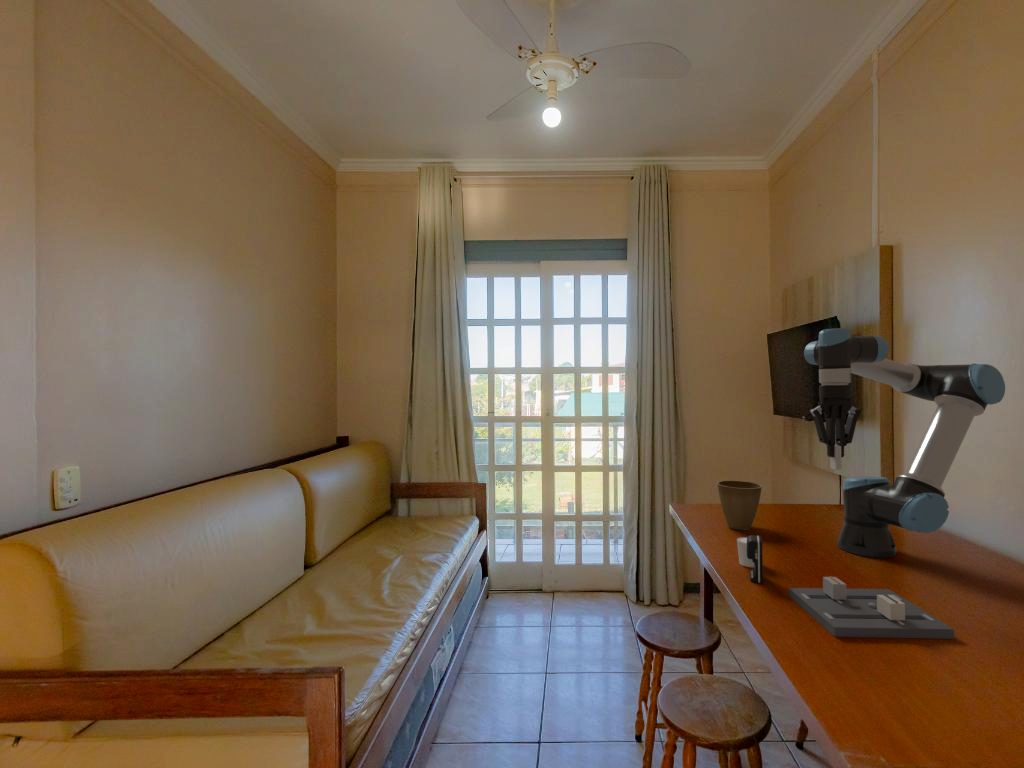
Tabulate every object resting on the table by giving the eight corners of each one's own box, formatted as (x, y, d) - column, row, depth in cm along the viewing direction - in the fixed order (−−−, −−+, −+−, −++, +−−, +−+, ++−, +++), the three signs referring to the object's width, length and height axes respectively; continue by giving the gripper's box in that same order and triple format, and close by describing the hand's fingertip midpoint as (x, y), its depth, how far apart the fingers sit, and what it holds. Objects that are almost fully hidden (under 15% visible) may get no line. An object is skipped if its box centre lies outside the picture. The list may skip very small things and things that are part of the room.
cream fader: (891, 610, 112) (890, 593, 112) (905, 620, 108) (904, 602, 108) (877, 610, 112) (876, 593, 112) (890, 620, 108) (890, 602, 108)
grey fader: (835, 591, 122) (835, 575, 122) (846, 599, 118) (846, 583, 118) (823, 591, 123) (822, 575, 123) (833, 599, 118) (833, 582, 118)
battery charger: (746, 573, 141) (746, 532, 141) (761, 574, 140) (761, 534, 140) (747, 582, 135) (746, 540, 135) (762, 584, 133) (762, 541, 133)
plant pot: (760, 535, 174) (759, 489, 174) (714, 529, 182) (714, 485, 182) (764, 524, 186) (763, 482, 186) (721, 519, 194) (721, 478, 194)
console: (888, 597, 124) (888, 586, 124) (954, 638, 104) (953, 626, 104) (788, 595, 126) (788, 585, 126) (834, 636, 106) (834, 624, 106)
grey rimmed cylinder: (765, 568, 144) (765, 544, 144) (740, 567, 145) (739, 543, 145) (758, 560, 151) (758, 537, 151) (734, 559, 152) (734, 536, 152)
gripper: (851, 383, 142) (852, 466, 143) (803, 384, 143) (804, 466, 143) (867, 384, 135) (868, 471, 135) (817, 384, 136) (818, 471, 136)
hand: (835, 468), depth 139 cm, fingers closed
